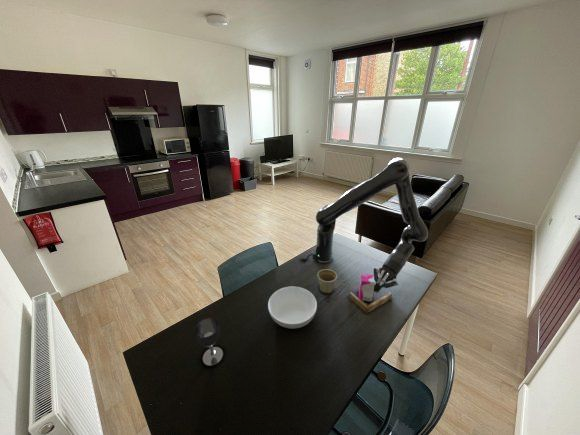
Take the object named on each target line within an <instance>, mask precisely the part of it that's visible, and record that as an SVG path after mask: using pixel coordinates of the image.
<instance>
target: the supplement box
mask: <svg viewBox="0 0 580 435" xmlns="http://www.w3.org/2000/svg"><path fill="white" fill-rule="evenodd" d="M375 284H376V281H375V280H374V274H368V273H361V274H360V281H359V288H358V298H359V299H360V300H361V301H363V302H365V303H366V302H367V303H373V296H374V285H375Z"/></svg>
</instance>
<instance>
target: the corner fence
mask: <svg viewBox="0 0 580 435" xmlns="http://www.w3.org/2000/svg"><path fill="white" fill-rule="evenodd" d="M392 297H393V293H392V292H389V293H386V294H384V295H383V296H381V297H380V298H378V299H376V300H375V301H372V302H370V304H366V302H365V301H361V300H360V299H359V296H357V295H356V294H354V293H353V292H350V293H349V298H348V299H350V300H351V301H352V302H353V303H354V304H355V305H357V307H359V309H361V310H362V311H363V312H364V313H366V314H368V313H370V312H371V311H374V310H375V309H377V308H378V307H380V306H382V305H383V304H385V303H387V302H388V301H390V300H391V299H392Z"/></svg>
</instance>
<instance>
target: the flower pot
mask: <svg viewBox="0 0 580 435" xmlns="http://www.w3.org/2000/svg"><path fill="white" fill-rule="evenodd" d="M317 278H318V282H319V290H320V291H321V292H322V293H325V294H330V293H332V292H333V290H334V287H335V283H336V281H337V278H338V274H337V272H336V271H334V270H332V269H329V268H328V269H327V268H324V269H321V270H319V271H318V272H317Z"/></svg>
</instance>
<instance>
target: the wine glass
mask: <svg viewBox="0 0 580 435" xmlns="http://www.w3.org/2000/svg"><path fill="white" fill-rule="evenodd" d="M193 331H194V336H195V339H196V340H197V342H198V344H199V345H200V346H201V347H205V348H209V349H207V350H206V351H205V352H204V354H203V356H202V362H203V364H204V365H206V366H209V367H211V366H215V365H217V364H218V363H220V361H221V360H222V359H223V356H224V351H223V350H222V348H221V347H218V346H214V345H215V344H216V343H217V342H218V341H219V338H220V335H221V334H220V332H221V331H220V324H219V321H218V319H217V318H214V317H206V318H203V319H201V320H199V321H198V322H197V323H196V324H195V327H194V330H193Z"/></svg>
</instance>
